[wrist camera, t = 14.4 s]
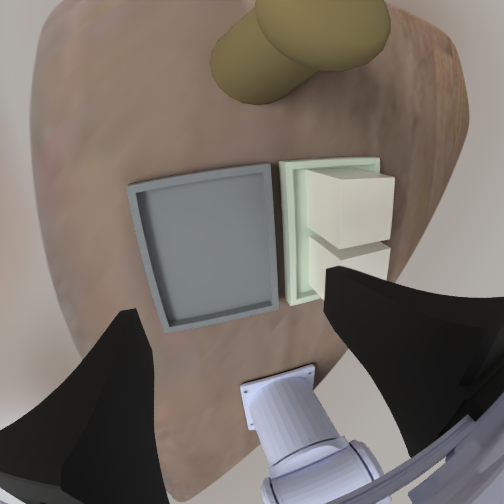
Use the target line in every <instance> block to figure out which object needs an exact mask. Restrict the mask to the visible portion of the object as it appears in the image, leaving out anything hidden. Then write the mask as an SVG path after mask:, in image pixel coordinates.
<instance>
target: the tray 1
mask: <svg viewBox="0 0 504 504" xmlns="http://www.w3.org/2000/svg"><path fill="white" fill-rule="evenodd" d="M126 188H127V193H128V198H129V203H130V208H131V213H132V218H133V223H134V227H135V232H136V236H137V240H138V244H139V248H140V252H141V256H142V260H143V264H144V268H145V272H146V275H147V279H148V282H149V286H150V289H151V293H152V296H153V299H154V303H155V306H156V309H157V312H158V315H159V318H160V321H161V324H162V327H163V330H164V333H170V332H176V331H181V330H186V329H192V328H197V327H202V326H207V325H212V324H216V323H221V322H226V321H230V320H235V319H239V318H244V317H248V316H252V315H257V314H261V313H265V312H269V311H273V310H277V309H279V300H278V278H277V259H276V241H275V224H274V208H273V193H272V178H271V165H270V164H269V163H265V162H263V163H253V164H245V165H236V166H229V167H221V168H214V169H207V170H201V171H194V172H188V173H182V174H176V175H171V176H165V177H160V178H155V179H150V180H145V181H140V182H135V183H131V184H129V185H128V186H127V187H126Z"/></svg>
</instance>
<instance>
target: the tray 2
mask: <svg viewBox="0 0 504 504" xmlns="http://www.w3.org/2000/svg"><path fill="white" fill-rule="evenodd" d="M329 168H359V169H363V170H368V171H372V172H376V173H380V158H377V157H371V156H359V157H329V158H311V159H296V160H284V161H279V176H280V191H281V209H282V228H283V249H284V274H285V299H286V300H287V302H288V303H289V304H290V306H293V305H297V304H301V303H304V302H308V301H312V300H316V299H319V298H321V297H320V296H319V295H318V294H317V293H316V291H315V290H314V289H313V288H312V287H311V286H310V285H309V236H313V235H318V234H317V233H315V232H314V231H312V230H311V229H310V228H308V227H307V182H306V170H310V169H329Z"/></svg>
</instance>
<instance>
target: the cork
mask: <svg viewBox="0 0 504 504" xmlns="http://www.w3.org/2000/svg"><path fill="white" fill-rule="evenodd" d="M390 32H391V25H390V16H389V12H388V9H387V6H386V4H385V2H384V0H256V3H255V8H254V9H253V10H252V11H250V12H249V13H248V14H247V15H246V16H244V17H243V18H242V19H241V20H240V21H239V22H238V23H236V24H235V25H234V26H233V27H232V28H231V29H230V30H229V31H228V32H227V33H226V34H224V35H223V36H222V37H221V38H220V39H219V40H218V42H217V44H216V45H215V47H214V48H213V50H212V54H211V59H210V66H211V72H212V76H213V78H214V79H215V81H216V83H217V85H218V86H219V88H220V89H222V90H223V91H224V92H225V93H226V94H227V95H228V96H229V97H231V98H234V99H236V100H238V101H240V102H242V103H247V104H253V105H261V104H269V103H272V102H274V101H276V100H279V99H281V98H283V97H284V96H285V95H286V94H288V93H289V92H290V91H292V90H293V89H294V88H296V87H297V86H298V85H300V84H301V83H302V82H304V81H305V80H307V79H308V78H309V77H311V76H312V75H314V74H315V73H316V72H318V71H319V70H325V71H345V70H349V69H352V68H355V67H358V66H362V65H365V64H367V63H368V62H370V61H371V60H372V59H374V58H375V57H376V56H377V55H378V54H379V53H380V52H381V51H383V49H384V47H385V44H386V42H387V39H388V37H389V34H390Z"/></svg>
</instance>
